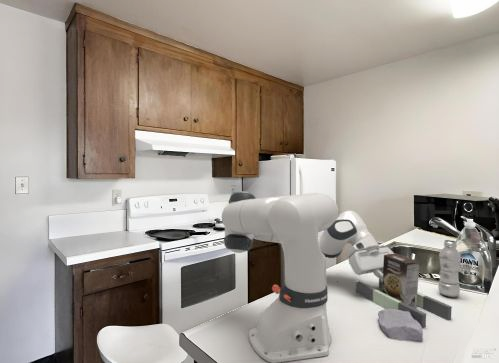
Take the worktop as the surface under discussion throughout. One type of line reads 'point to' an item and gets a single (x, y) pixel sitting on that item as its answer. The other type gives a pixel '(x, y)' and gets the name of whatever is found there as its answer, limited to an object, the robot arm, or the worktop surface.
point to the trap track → (392, 303)
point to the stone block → (400, 325)
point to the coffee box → (401, 278)
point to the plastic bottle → (449, 269)
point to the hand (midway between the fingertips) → (387, 281)
